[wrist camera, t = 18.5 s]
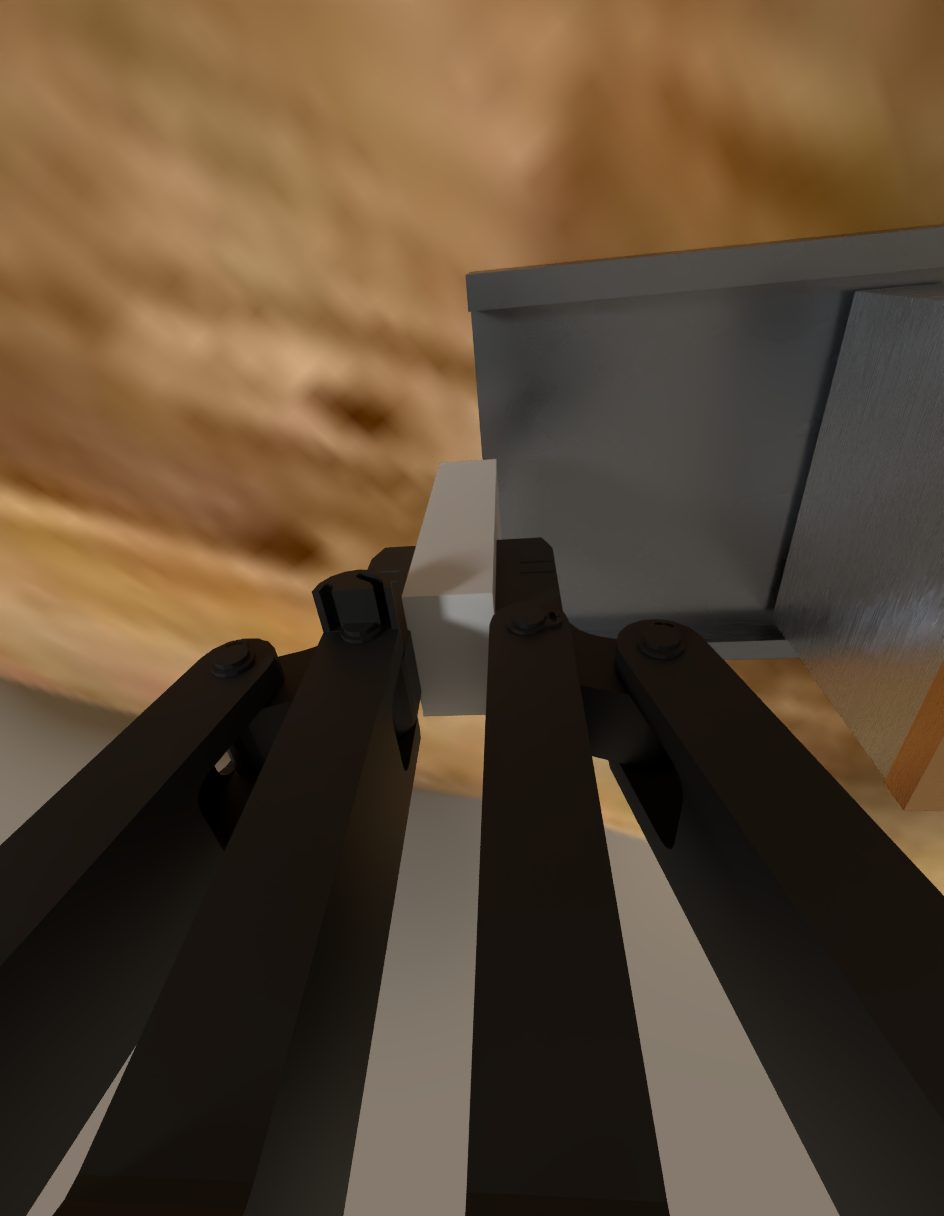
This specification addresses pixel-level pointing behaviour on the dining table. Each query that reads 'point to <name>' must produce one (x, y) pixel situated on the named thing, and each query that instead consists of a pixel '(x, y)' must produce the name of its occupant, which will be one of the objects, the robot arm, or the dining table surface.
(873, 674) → the jaw
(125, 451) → the dining table surface
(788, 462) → the vise
